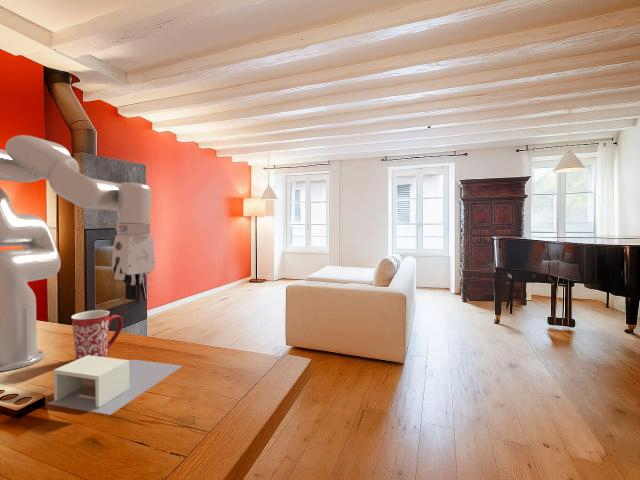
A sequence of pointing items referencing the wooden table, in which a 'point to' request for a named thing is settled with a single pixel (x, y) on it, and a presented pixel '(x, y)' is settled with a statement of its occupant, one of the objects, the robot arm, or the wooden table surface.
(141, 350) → the wooden table surface
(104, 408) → the base board
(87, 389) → the block
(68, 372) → the housing cover
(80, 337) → the mug
